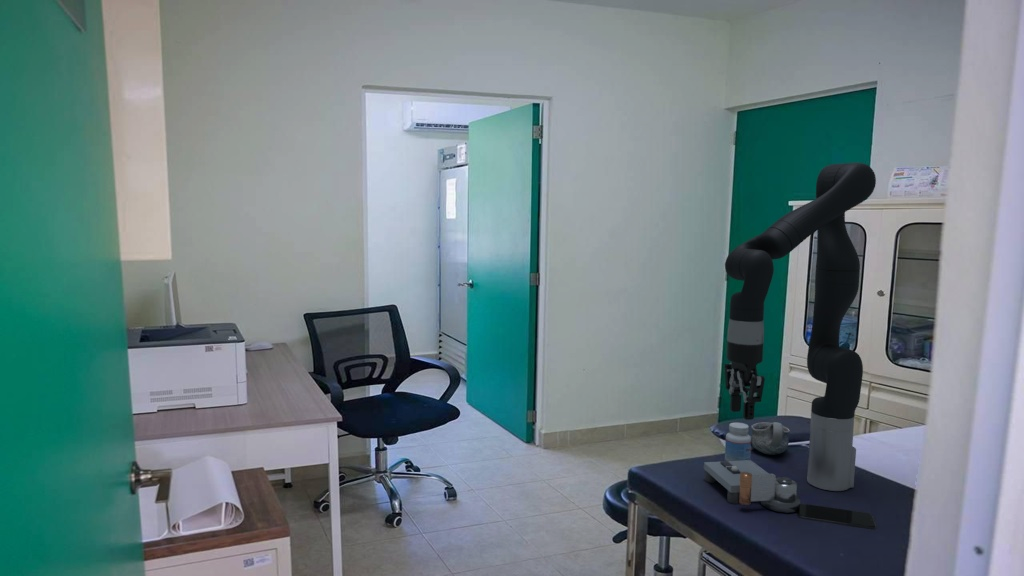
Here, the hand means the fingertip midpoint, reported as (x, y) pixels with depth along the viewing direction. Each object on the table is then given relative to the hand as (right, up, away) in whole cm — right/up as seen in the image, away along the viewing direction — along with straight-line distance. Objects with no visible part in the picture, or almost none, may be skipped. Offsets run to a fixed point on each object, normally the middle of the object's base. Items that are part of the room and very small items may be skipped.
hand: (741, 414), depth 149 cm
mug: (+18, -17, +30) cm, 39 cm away
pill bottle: (+6, -18, +20) cm, 27 cm away
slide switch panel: (+2, -19, +7) cm, 20 cm away
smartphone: (+18, -21, -6) cm, 28 cm away
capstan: (+5, -20, -2) cm, 20 cm away
